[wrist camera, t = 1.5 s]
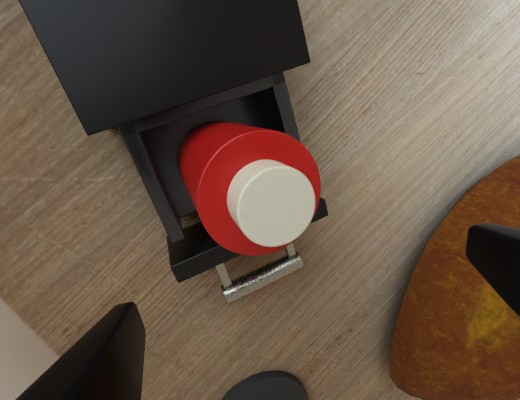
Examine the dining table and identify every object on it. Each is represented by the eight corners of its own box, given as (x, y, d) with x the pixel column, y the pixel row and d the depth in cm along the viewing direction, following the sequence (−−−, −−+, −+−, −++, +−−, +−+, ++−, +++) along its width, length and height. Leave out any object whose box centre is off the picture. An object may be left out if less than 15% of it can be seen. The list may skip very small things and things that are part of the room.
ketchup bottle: (195, 210, 21) (233, 298, 11) (164, 136, 19) (179, 166, 9) (264, 182, 22) (353, 240, 12) (241, 109, 20) (326, 111, 11)
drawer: (309, 241, 26) (341, 267, 22) (194, 295, 24) (203, 336, 20) (263, 72, 21) (293, 63, 17) (112, 121, 19) (101, 126, 15)
